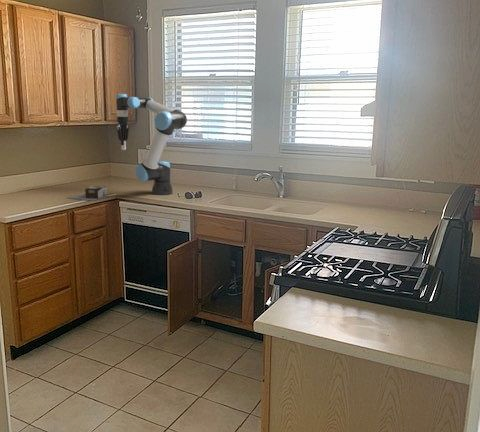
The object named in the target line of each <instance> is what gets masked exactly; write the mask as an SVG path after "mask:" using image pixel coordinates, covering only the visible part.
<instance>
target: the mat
mask: <svg viewBox="0 0 480 432" xmlns="http://www.w3.org/2000/svg"><path fill="white" fill-rule="evenodd" d="M108 197H109V195H107V194H106V195H104V196H102V197H100V198H86V193H85V192H84V193H81V194H77V195H73V196H68V197H67V199H71V200H78V201H87V202H89V201H90V202H93V201H96V200H100V199H104V198H108Z"/></svg>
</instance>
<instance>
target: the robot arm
mask: <svg viewBox="0 0 480 432" xmlns="http://www.w3.org/2000/svg"><path fill="white" fill-rule="evenodd" d="M115 99H116V100H115V101H116V103H115V104H116V105H115V106H116V116H117V117H116V120H117V121H116V122H117V126H115V128H116V131H117V137H118V140H119V141H120V144H121V145H120V146H121V151H126V150H127V141H128V139H129V131H130V126H129V125H128V122H129V117H128V116H129V110H128V109H145V110H148V111H150V112H152V113H154V114H155V117H154V126H155V130H156V131H155V134H154V137H153V139H152V141H151V145H150V147H149V149H148V152H147V155H146V157H145V158H143V159H142V161H141V163H140V164H138V165H137V166H136V167H135V175H136V178H137V179H138V180H139V181H140V182H149V181H153V185H152V188H151V194H153V195H157V196H166V195H172V194H174V189H173V186H172V183H171V164H170V162H168V161H161V160H160V158H161V156H162V154H163V151H164V149H165V146H166V144H167V141H168V139H169V136H172V135H173V133H174V130H181V129H183V128H184V127H185V126H186V125H187V122H188V117H187V115H186V114H185V113H184V112H183V111H181V110H179V109H173V108H171V107H168V106H165V104H162V103H159V102H157V101H155V100H154V99H153V98H152V97H148V96H147V97H146V96H144V97H143V96H128V94H127V93H118V94H116V98H115Z"/></svg>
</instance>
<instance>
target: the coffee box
mask: <svg viewBox="0 0 480 432" xmlns="http://www.w3.org/2000/svg"><path fill="white" fill-rule="evenodd" d="M107 191H108V189H107V185H98V184H94V185H91V186H89V187H87V188H85V192H84V194H85V193H86V198H100V197H102V196H104V195H106V196H107V195H108V192H107Z"/></svg>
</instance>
